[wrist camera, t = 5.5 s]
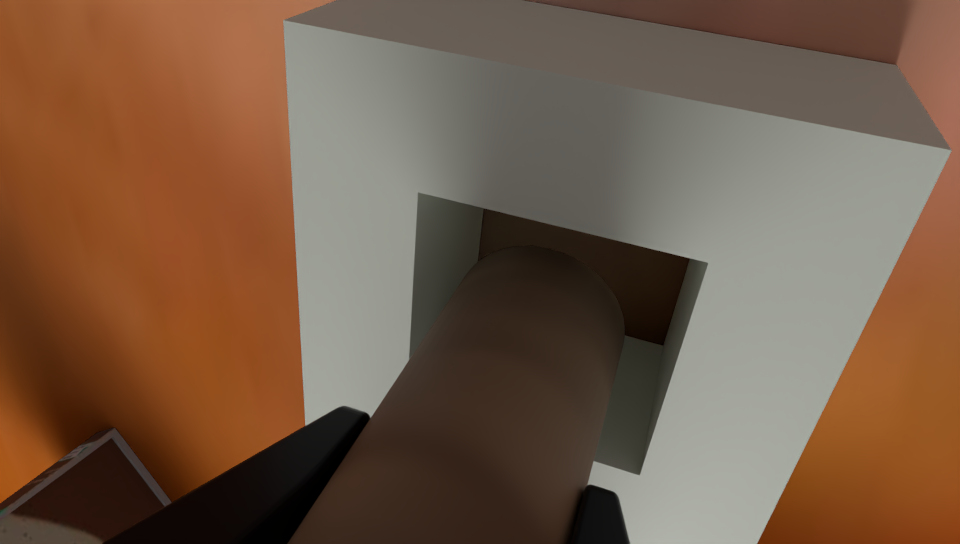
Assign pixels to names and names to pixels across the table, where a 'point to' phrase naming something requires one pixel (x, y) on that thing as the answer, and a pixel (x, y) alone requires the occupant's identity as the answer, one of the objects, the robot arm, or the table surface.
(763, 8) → the table surface
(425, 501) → the walnut peg
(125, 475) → the food container
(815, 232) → the hole block
